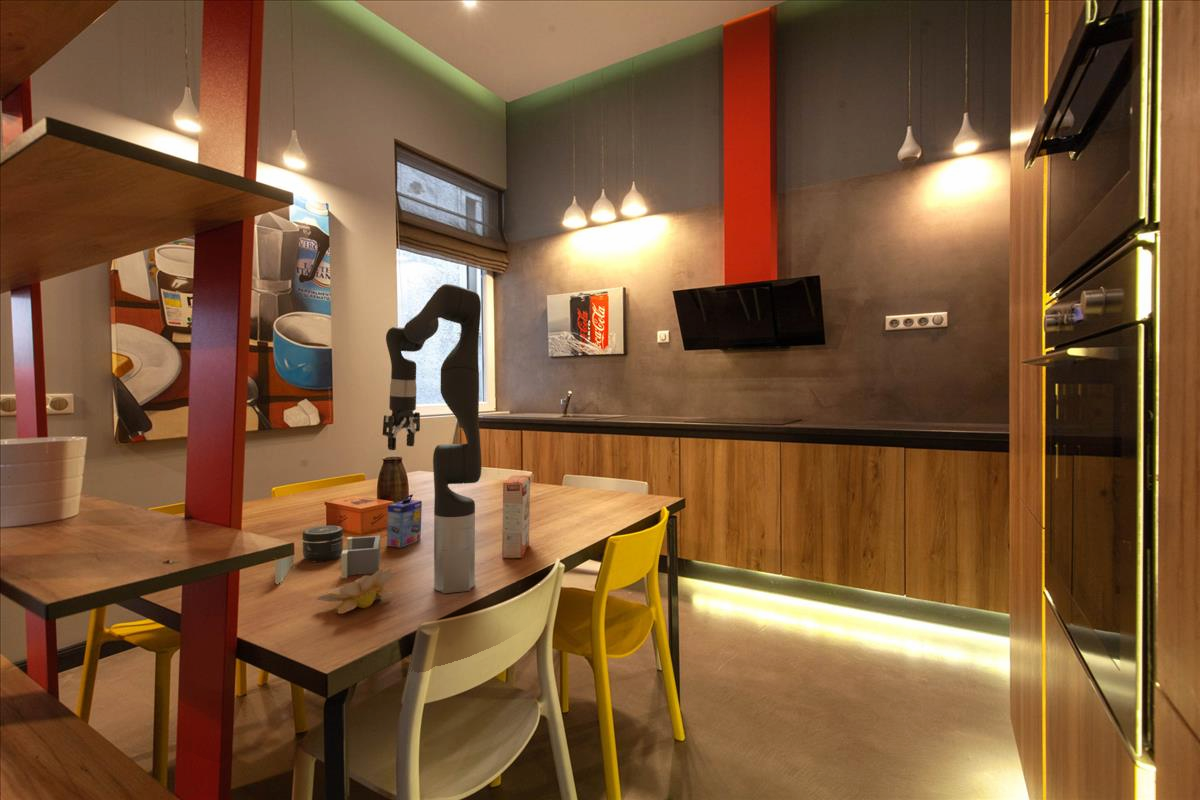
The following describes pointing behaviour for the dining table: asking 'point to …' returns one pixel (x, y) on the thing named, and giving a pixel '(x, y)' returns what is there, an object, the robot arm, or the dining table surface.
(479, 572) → the dining table surface
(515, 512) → the cracker box
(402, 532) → the ink cartridge box
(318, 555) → the jar
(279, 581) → the channel
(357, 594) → the decorative flower
